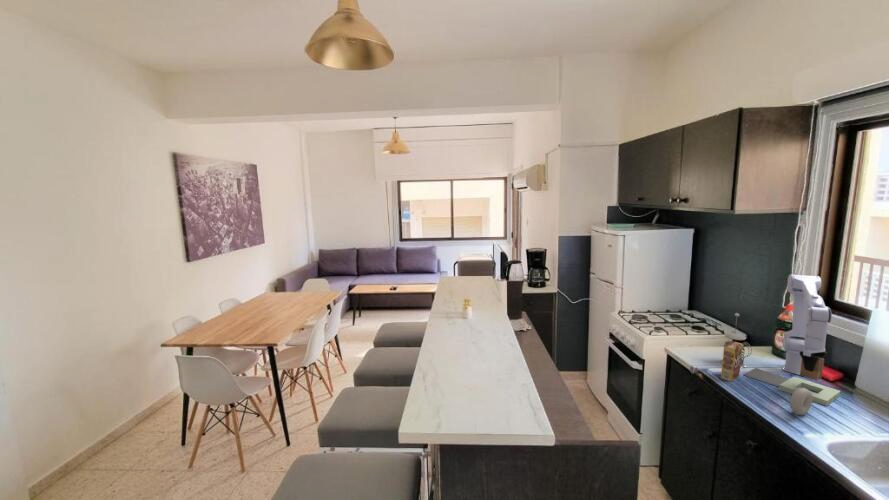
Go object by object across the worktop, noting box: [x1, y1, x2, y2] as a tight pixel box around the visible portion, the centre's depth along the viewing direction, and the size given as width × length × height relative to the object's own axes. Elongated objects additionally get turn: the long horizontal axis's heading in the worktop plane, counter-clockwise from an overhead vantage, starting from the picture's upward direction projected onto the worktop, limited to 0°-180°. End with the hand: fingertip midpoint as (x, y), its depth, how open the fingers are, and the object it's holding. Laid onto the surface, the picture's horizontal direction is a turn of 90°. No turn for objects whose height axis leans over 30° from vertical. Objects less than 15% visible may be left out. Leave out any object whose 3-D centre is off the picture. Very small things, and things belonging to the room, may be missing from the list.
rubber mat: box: [743, 367, 790, 388], centre depth 157 cm, size 12×12×1 cm
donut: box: [789, 387, 813, 416], centre depth 130 cm, size 10×4×10 cm, turn 114°
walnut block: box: [799, 357, 825, 381], centre depth 143 cm, size 5×5×8 cm
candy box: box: [720, 341, 744, 382], centre depth 157 cm, size 9×4×15 cm, turn 123°
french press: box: [719, 312, 753, 369], centre depth 169 cm, size 10×12×25 cm
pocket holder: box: [778, 375, 841, 406], centre depth 145 cm, size 14×14×2 cm
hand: (811, 368), depth 143 cm, fingers closed on walnut block, 5 cm apart
